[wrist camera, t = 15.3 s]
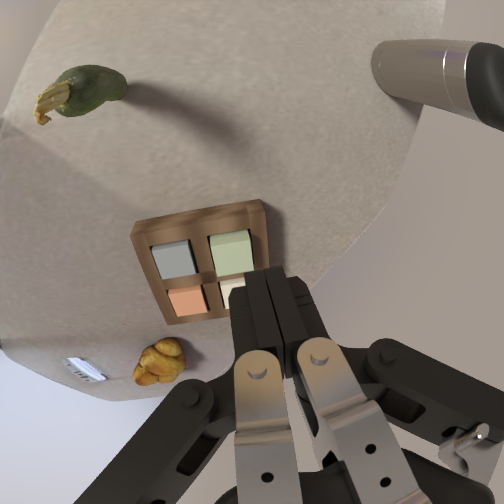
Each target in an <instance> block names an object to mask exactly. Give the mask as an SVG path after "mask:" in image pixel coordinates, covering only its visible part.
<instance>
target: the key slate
mask: <svg viewBox="0 0 504 504" xmlns="http://www.w3.org/2000/svg"><path fill="white" fill-rule="evenodd" d="M152 254H153V256H154V259H155V262H156V264H157V267H158V270H159V272H160V275H161V278H162V280H163V279H169V278H175V277H181V276H187V275H193V274H196V259H195V256H194V252H193V248H192V244H191V241H190V239H187V240H181V241H176V242H170V243H165V244H159V245H154V246H153V248H152Z"/></svg>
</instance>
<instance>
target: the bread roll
mask: <svg viewBox="0 0 504 504" xmlns="http://www.w3.org/2000/svg"><path fill="white" fill-rule="evenodd" d="M185 361H186V360H185V358H184V356H183V354H182V349H181V347H180V344H179V343H178V342H177V341H176V340H174V339H172V338H164V339H161V340H159V341H158V342H157V343H156V344H155V345H151V346H148V347H147V348H145V349H144V350H143V352H142V354H141V357H140V359H139V363H138V364H137V366H136V367H135V369H134V372H133V378H134V380H135V382H136V383H137V384H138V385H140V386H147V385H151V384H154V383H156V382H157V381H158V382H161V383H169V382H173V381H174V380H175V379H176V378H177V377H178V375H179V373H181V372H182V371H183V369H184V367H185V366H186V365H185Z"/></svg>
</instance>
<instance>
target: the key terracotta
mask: <svg viewBox="0 0 504 504" xmlns="http://www.w3.org/2000/svg"><path fill="white" fill-rule="evenodd" d="M168 295H169V298H170V300H171V303H172V305H173V308H174V310H175V312H176V315H177V317H179V316H186V315H192V314H199V313H206V312H207V298H206V295H205V291H204V288H203V284H201V285H195V286H189V287H183V288H176V289H170V290H169V292H168Z"/></svg>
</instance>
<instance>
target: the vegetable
mask: <svg viewBox="0 0 504 504" xmlns="http://www.w3.org/2000/svg"><path fill="white" fill-rule="evenodd" d="M127 89H128V86H127V82H126V79H125V77H124V76H123V75H122V74H120V73H119V72H117V71H115V70H112V69H110V68H107V67H102V66H98V65H83V66H77V67H74V68H71V69H69V70H67V71H65V72H64V73H63V74H62V75H61V76H60V77H59V78H58V79H57V80H56V82H55V83H53V84H52V85H50V86H49V87H48V88H47V89H46V90H45V91H44V92H43V93H42V94H40V95H38V96H37V99H36V101H35V104H36V105H35V109H34V110H33V115H34V116H35V120H36V121H37V122H38V123H39V124H40V125H44V124H46V123H47V122H48V121H49V120H50V121H51V120H52V119H51V118H50V117H48V116H47V115H46V116H44V115H45V113H47V112H49V111H52V110H53V109H55V110H56V111H57V112H58V113H59V114H61V115H63V116H65V117H76V116H81V115H85V114H86V113H88V112H90V111H92V110H94V109H96V108H97V107H98V106H100V105H102V104H103V103H104V102H105V101H116V100H120V99H121V98H122V97H123V96H124V95H125V94H126V91H127Z"/></svg>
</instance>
